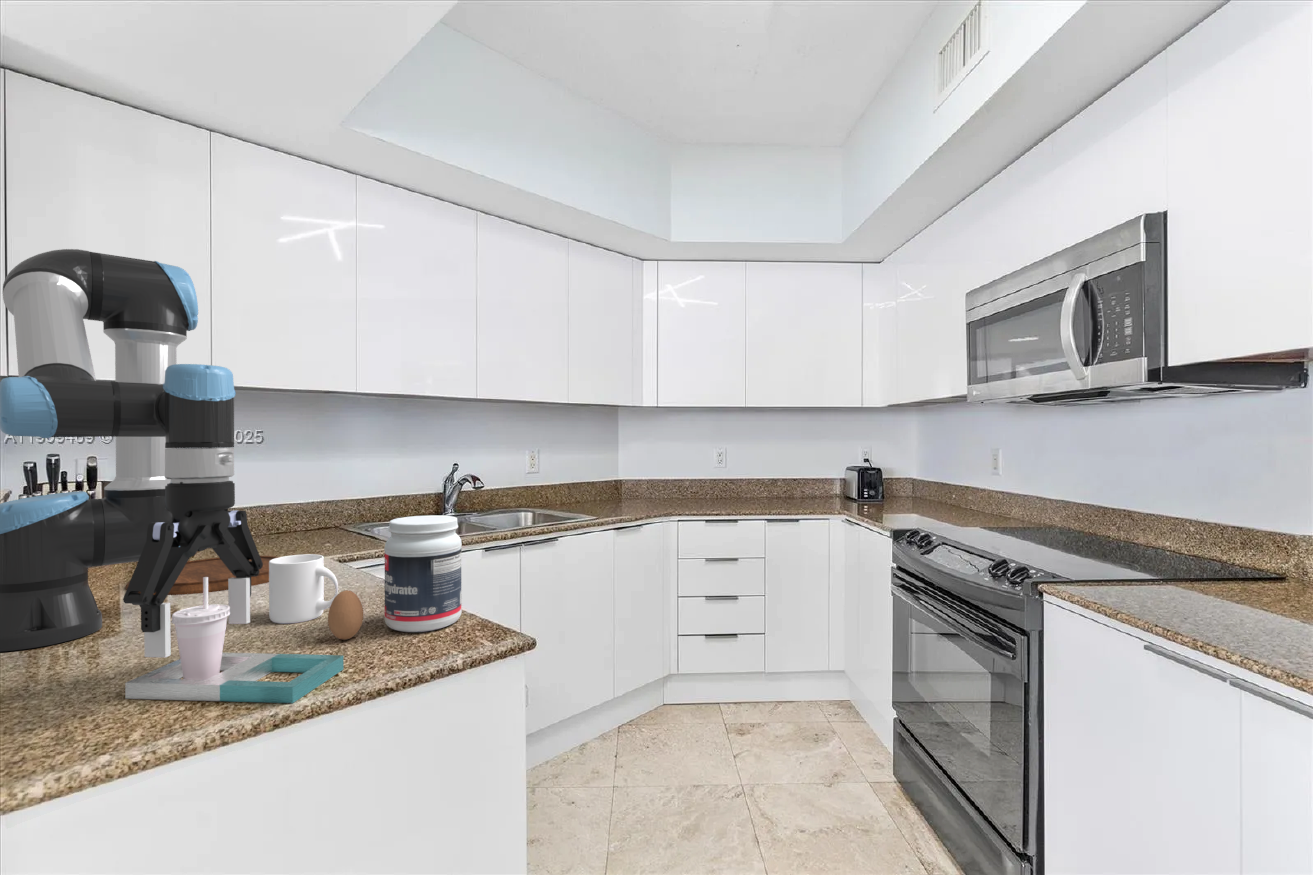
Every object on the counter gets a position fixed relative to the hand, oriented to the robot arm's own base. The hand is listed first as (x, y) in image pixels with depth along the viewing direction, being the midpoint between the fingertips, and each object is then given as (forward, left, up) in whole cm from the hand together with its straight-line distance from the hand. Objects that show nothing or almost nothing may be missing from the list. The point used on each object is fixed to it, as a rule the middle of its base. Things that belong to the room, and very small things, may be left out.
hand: (201, 638), depth 82 cm
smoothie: (0, 0, -6) cm, 6 cm away
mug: (-5, +29, -6) cm, 30 cm away
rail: (+5, 0, -6) cm, 8 cm away
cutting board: (-46, +58, -7) cm, 74 cm away
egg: (+9, +18, -6) cm, 21 cm away
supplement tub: (+18, +27, -6) cm, 33 cm away
